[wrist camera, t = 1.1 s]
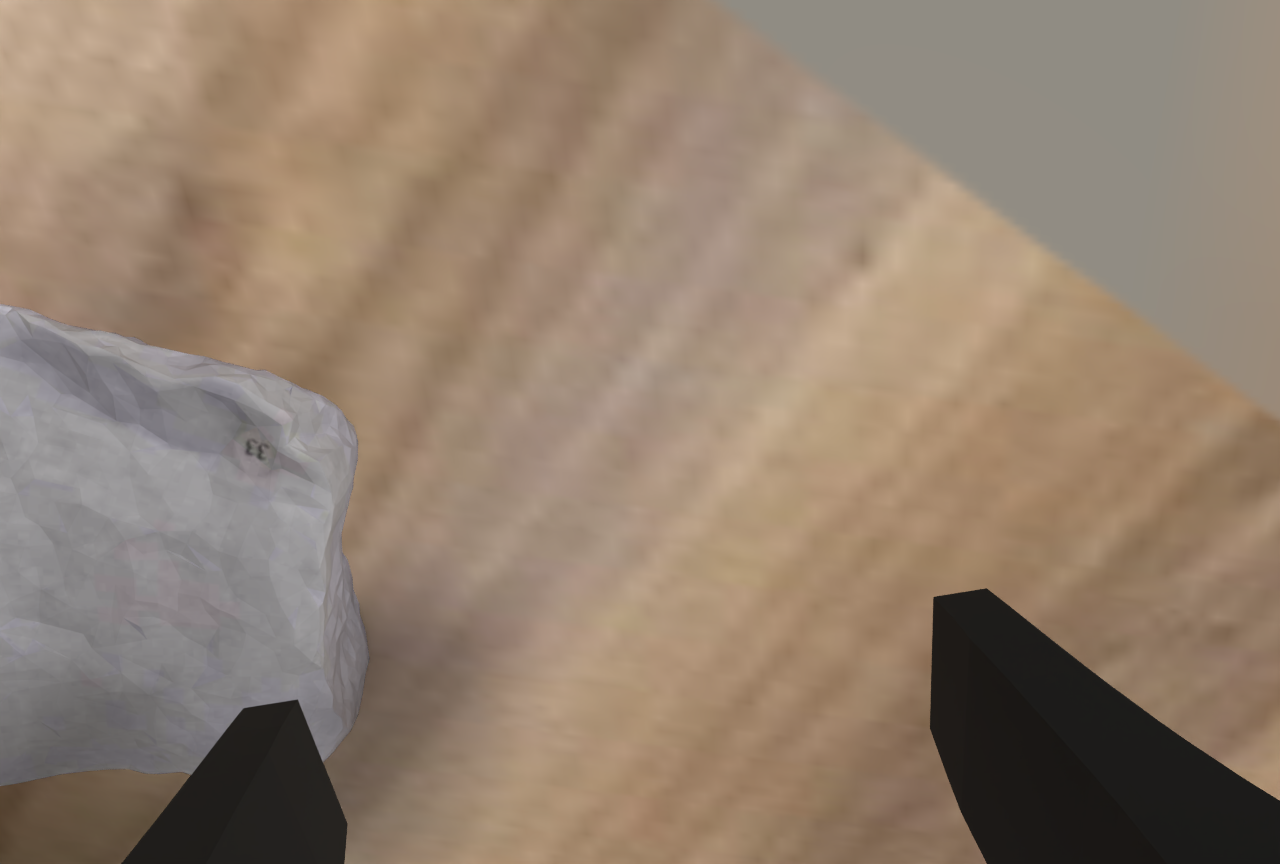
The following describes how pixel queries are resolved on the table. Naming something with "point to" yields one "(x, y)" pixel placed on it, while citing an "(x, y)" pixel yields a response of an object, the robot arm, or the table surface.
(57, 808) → the table surface
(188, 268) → the table surface
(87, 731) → the stone block
